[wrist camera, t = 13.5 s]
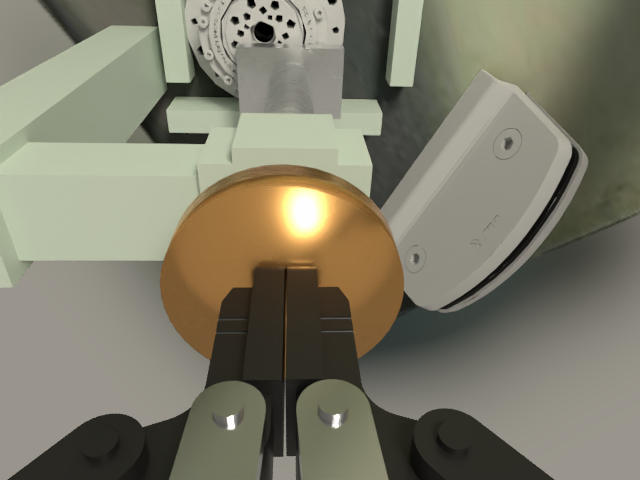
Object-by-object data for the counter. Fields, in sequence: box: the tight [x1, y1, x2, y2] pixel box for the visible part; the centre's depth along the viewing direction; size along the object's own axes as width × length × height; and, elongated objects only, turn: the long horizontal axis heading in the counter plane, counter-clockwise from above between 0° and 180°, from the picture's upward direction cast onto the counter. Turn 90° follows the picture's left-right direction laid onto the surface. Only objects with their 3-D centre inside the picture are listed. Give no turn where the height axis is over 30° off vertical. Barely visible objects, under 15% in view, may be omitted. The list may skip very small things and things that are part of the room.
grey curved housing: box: [380, 69, 588, 313], centre depth 36 cm, size 17×5×10 cm, turn 150°
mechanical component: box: [185, 0, 345, 98], centre depth 30 cm, size 10×4×10 cm
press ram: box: [160, 43, 404, 379], centre depth 21 cm, size 6×6×20 cm
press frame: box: [0, 0, 424, 288], centre depth 22 cm, size 20×14×22 cm
